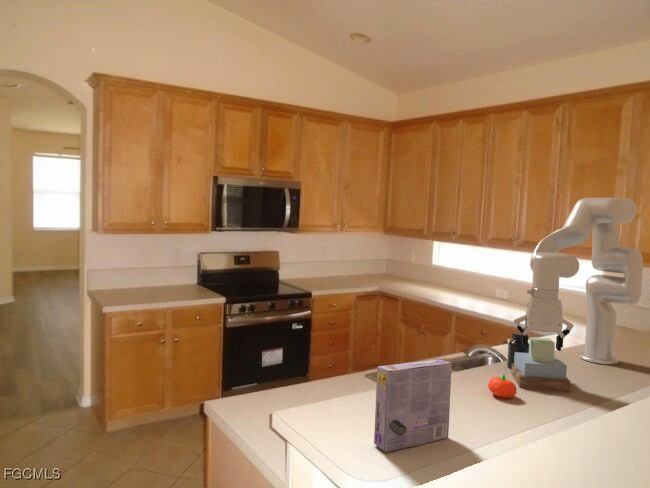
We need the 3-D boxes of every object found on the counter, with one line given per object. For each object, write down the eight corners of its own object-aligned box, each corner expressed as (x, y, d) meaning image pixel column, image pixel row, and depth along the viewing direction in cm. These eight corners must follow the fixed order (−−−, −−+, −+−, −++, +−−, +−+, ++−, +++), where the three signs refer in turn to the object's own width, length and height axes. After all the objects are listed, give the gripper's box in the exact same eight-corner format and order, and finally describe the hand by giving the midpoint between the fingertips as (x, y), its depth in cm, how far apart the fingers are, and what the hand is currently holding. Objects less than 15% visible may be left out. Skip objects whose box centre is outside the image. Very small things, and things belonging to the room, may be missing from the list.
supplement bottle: (525, 372, 162) (527, 337, 162) (504, 368, 166) (506, 333, 166) (530, 367, 168) (532, 333, 167) (510, 363, 172) (512, 330, 171)
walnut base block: (511, 375, 161) (511, 363, 160) (556, 379, 158) (557, 367, 158) (519, 389, 147) (520, 376, 147) (569, 394, 144) (570, 381, 144)
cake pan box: (438, 429, 116) (442, 356, 115) (453, 437, 112) (457, 362, 111) (371, 444, 107) (374, 365, 106) (384, 454, 103) (388, 372, 102)
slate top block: (514, 364, 159) (514, 352, 159) (552, 366, 158) (553, 354, 158) (524, 375, 148) (525, 363, 147) (565, 378, 146) (566, 365, 146)
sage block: (528, 355, 156) (529, 337, 156) (548, 357, 155) (549, 338, 154) (532, 360, 150) (533, 341, 150) (553, 362, 149) (554, 343, 148)
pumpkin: (498, 391, 145) (502, 370, 145) (519, 401, 137) (523, 378, 137) (480, 391, 142) (483, 369, 142) (500, 401, 134) (504, 378, 134)
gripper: (517, 294, 149) (514, 349, 150) (578, 298, 146) (575, 354, 147) (513, 290, 156) (510, 343, 157) (571, 294, 153) (567, 347, 154)
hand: (541, 348), depth 152 cm, fingers open, 9 cm apart
